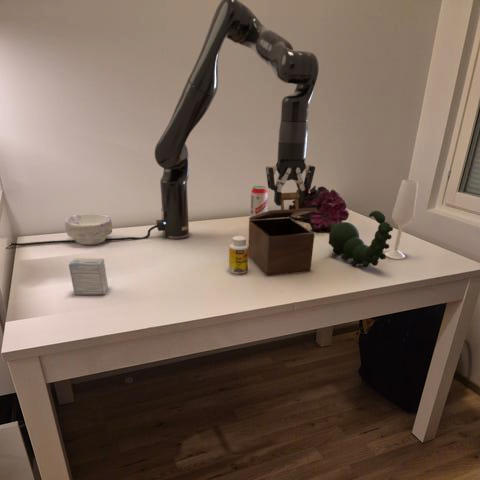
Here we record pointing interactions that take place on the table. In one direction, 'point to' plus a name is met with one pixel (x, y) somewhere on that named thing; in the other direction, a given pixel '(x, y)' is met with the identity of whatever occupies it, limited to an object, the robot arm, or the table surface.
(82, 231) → the white stone bowl
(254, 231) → the chest
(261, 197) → the beer can
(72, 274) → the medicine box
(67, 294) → the table surface
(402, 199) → the champagne flute
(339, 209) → the flower arrangement
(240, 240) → the supplement bottle
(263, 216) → the lid
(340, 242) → the toy figurine
